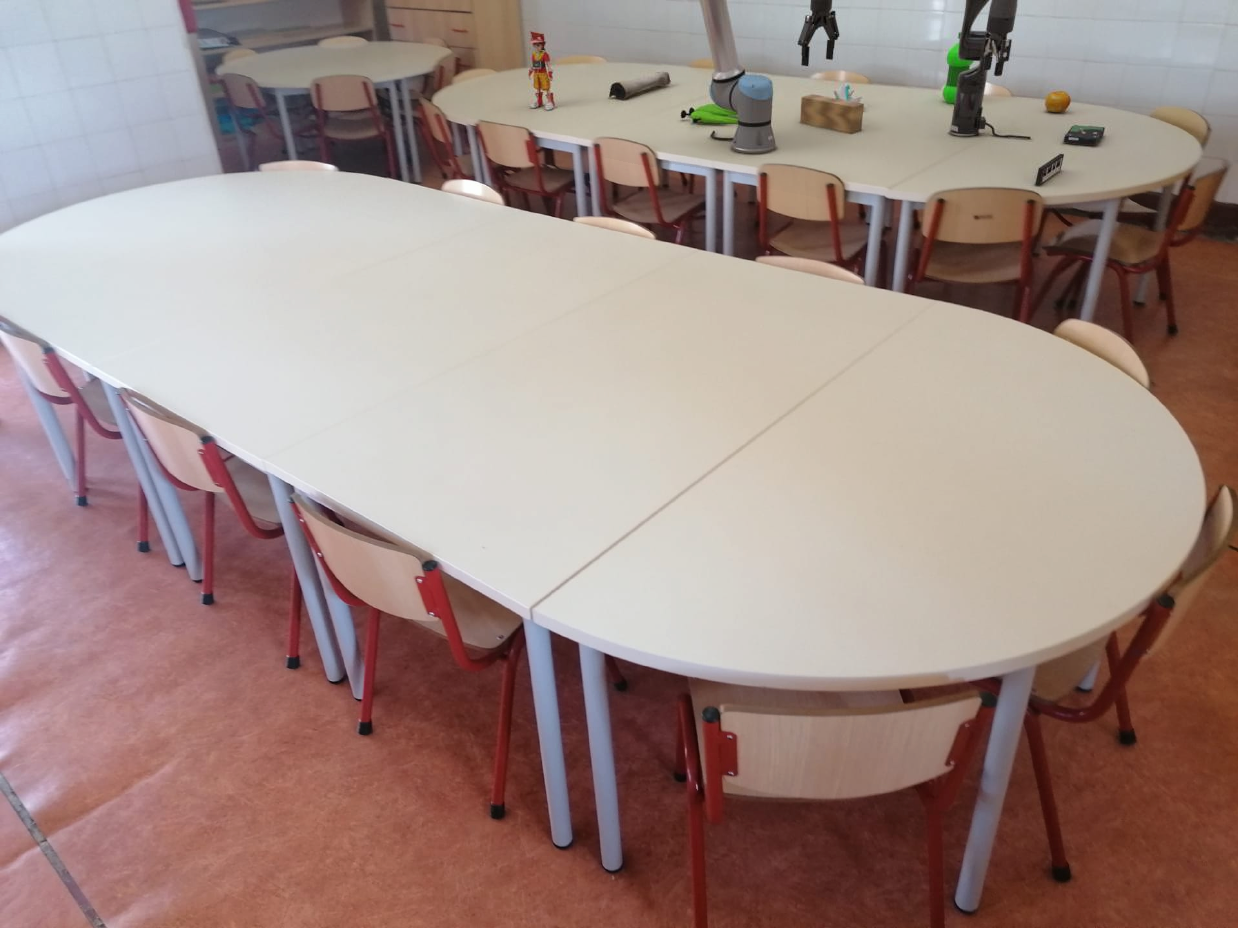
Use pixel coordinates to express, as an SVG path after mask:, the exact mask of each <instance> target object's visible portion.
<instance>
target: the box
mask: <svg viewBox="0 0 1238 928" xmlns="http://www.w3.org/2000/svg"><path fill="white" fill-rule="evenodd" d="M864 106H865V103H862V102H859V103H857V102H852V101H846V100H841V99H837V98H836V97H830V96H825V95H819V94H814V93H810V94H807V95H804V96H801V100H800V117H799V123H800V124H805V125H810V126H815V127H818V128H823V129H828V130H832V131H833V130H834V131H837V132H841V133H842V132H843V133H847V134H854V133H857V132H860V131H862V129H863V118H864V117H863V116H864V110H863V108H864Z"/></svg>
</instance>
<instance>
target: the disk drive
mask: <svg viewBox="0 0 1238 928" xmlns="http://www.w3.org/2000/svg"><path fill="white" fill-rule="evenodd" d="M1105 129H1106V127H1104V126H1093V125H1078V124H1074V125H1072V126H1071V127H1070V128H1069V130H1068V131H1067V132H1066V134H1064V138H1063V143H1066V144H1071V145H1080V146H1097V145H1098V143H1099V141H1100V140H1101V139H1102V137H1103V136H1104V134H1105Z"/></svg>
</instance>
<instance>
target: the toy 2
mask: <svg viewBox="0 0 1238 928" xmlns="http://www.w3.org/2000/svg"><path fill="white" fill-rule="evenodd" d="M688 109H689V110H688V112H687V111H686V110H685V109H682V110H681V112H680V118H681V119H685V118H687V116H688V117H690V119H691V120H692V123H693V124H698V123H701V124H711V123H713V124H738V118H734V116H738V113H736V112H733V111H730V110H725V109H723V108H720V107H719V106H717V105H716V104H715V103H708V104H704V105H701V106H699V107H697V108H695V109H694V108H693V107H690V108H688Z"/></svg>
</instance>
